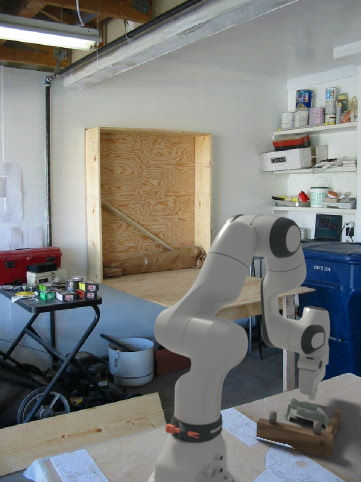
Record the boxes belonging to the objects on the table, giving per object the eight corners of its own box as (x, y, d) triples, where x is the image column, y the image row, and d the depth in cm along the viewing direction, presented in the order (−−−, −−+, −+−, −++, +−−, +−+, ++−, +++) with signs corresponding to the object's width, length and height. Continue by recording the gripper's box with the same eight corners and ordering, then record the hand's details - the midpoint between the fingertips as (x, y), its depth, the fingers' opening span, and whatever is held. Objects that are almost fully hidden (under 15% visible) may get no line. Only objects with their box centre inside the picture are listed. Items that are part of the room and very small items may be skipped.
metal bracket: (295, 411, 143) (283, 390, 158) (288, 430, 143) (277, 407, 158) (342, 425, 143) (326, 403, 158) (335, 444, 144) (320, 420, 159)
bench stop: (330, 458, 128) (332, 428, 127) (256, 439, 138) (257, 411, 137) (346, 423, 148) (347, 397, 147) (279, 409, 157) (280, 384, 156)
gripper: (312, 346, 170) (310, 385, 171) (295, 363, 152) (294, 407, 153) (331, 349, 167) (329, 389, 168) (316, 367, 149) (314, 412, 150)
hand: (312, 398), depth 161 cm, fingers closed
